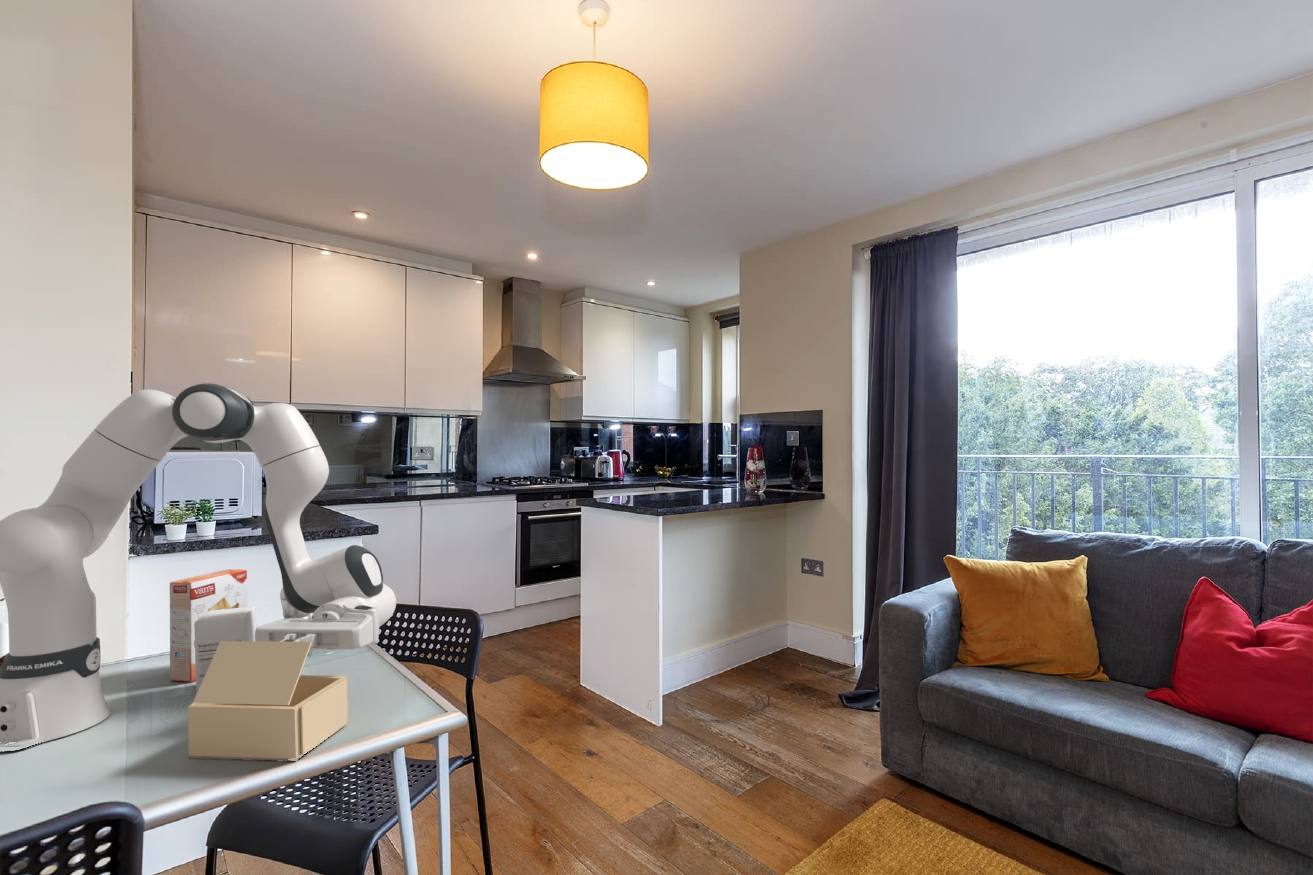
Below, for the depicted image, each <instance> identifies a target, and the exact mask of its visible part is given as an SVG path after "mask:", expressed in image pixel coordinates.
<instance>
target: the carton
mask: <svg viewBox="0 0 1313 875" xmlns="http://www.w3.org/2000/svg"><path fill="white" fill-rule="evenodd" d="M348 685H349V684H348V676H344V675H309V674H307V675H302V674H300V677H299V679H298V682H297V685H296V688H295V690H294V693H293V696H292V699H291V701H290V704H289V705H262V704H215V703H193V702H192V703H191V704H190V705H188V706H187V732H188V733H187V734H188V736H187V738H188V759H194V760H195V759H198V760H199V759H201V760H202V759H203V760H227V761H228V760H230V759H231V760H232V759H247V760H246V761H256V760H288V759H291V758H297V757H298V756H299V755H301V754H305V753H307V752H308V751H310V750H311V751H313V750H314V749H316V748H317V747H319V745H321V744H322V743H324V742H325V741H326V740H327V739H329V738H331V736H333V735H335V734H336V733H338V731H340V730H341V729H342V728H344V727H345V726H347V725H348V724H349V697H348V696H349V690H348V689H349V688H348V687H349V686H348ZM328 737H329V738H328ZM324 740H325V741H324ZM320 743H321V744H320ZM316 746H317V747H316ZM313 748H314V749H313ZM312 749H313V750H312ZM311 751H310V752H311ZM308 753H309V752H308ZM308 753H307V754H308ZM249 759H250V760H249Z"/></svg>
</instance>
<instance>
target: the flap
mask: <svg viewBox="0 0 1313 875" xmlns="http://www.w3.org/2000/svg"><path fill="white" fill-rule="evenodd" d="M311 644H312V642H276V641H220V644H219V646H218V648H217V650H216V653H215V655H214V657H213V659H212V661H211V664H210V666H209V668H208V670H207V672H206V675H205V677H204V679H203V681H202V684H201V686H200V688H199V690H198V692H197V695H196V694H195V697H194V699H193V701H192V703H215V704H262V705H289V704H290V701H291V699H292V696H293V693H294V690H295V688H296V685H297V682H298V679H299V677H300V675H302V671H303V668H304V666H305V663H306V659H307V657H308V655H309V654H308V652H309V649H310V647H311Z"/></svg>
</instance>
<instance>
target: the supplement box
mask: <svg viewBox="0 0 1313 875" xmlns="http://www.w3.org/2000/svg"><path fill="white" fill-rule="evenodd" d="M194 628H195V667H196V680H195V696H196V695H197V692H198V690H199V688H200V686H201V684H202V681H203V679H204V677H205V675H206V672H207V670H208V668H209V666H210V664H211V661H212V659H213V657H214V655H215V653H216V650H217V648H218V646H219V644H220V641H255V631H256V628H257V608H256V605H251V606H247V607H242V608H233V609H221V610H212V611H208V612H206V613H205V614H204V615H203V616H202V617H200V618H199V619H198V620H197V621H195V622H194Z"/></svg>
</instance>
